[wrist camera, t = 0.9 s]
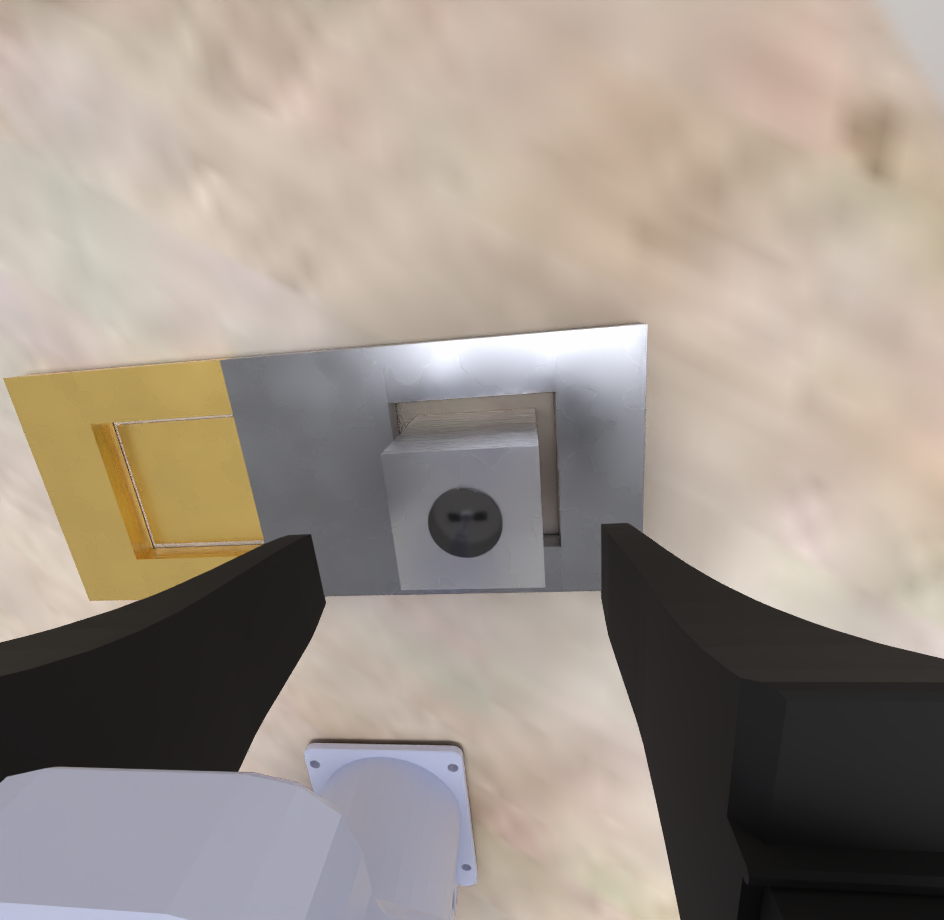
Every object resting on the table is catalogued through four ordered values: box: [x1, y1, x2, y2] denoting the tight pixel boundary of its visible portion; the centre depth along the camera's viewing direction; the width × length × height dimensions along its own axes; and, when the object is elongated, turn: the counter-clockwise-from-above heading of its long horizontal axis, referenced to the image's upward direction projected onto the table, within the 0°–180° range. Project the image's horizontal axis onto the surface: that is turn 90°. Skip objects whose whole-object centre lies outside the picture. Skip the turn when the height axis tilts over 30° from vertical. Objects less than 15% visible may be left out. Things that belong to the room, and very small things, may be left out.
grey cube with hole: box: [381, 408, 545, 590], centre depth 16 cm, size 4×4×5 cm
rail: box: [3, 323, 647, 601], centre depth 19 cm, size 10×24×1 cm, turn 95°
